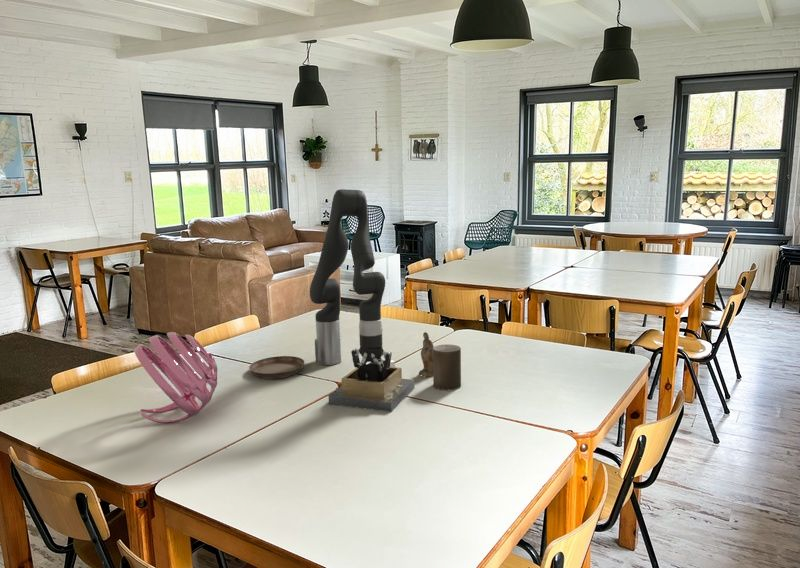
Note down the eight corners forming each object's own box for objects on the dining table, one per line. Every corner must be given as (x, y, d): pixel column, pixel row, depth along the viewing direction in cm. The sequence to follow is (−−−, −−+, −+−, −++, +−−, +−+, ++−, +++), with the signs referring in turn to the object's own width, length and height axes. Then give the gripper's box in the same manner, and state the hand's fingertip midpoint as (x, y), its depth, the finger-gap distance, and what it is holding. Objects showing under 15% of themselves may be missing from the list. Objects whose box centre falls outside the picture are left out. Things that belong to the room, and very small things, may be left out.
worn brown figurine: (427, 384, 230) (419, 339, 224) (417, 380, 234) (409, 336, 228) (449, 370, 237) (442, 326, 231) (439, 366, 241) (432, 323, 235)
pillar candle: (459, 391, 215) (459, 348, 212) (431, 389, 217) (430, 347, 214) (462, 381, 225) (462, 340, 222) (435, 380, 226) (435, 339, 224)
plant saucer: (239, 379, 233) (239, 371, 232) (264, 362, 253) (263, 354, 252) (292, 382, 228) (291, 374, 228) (312, 364, 248) (312, 356, 247)
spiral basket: (94, 376, 179) (172, 314, 186) (112, 369, 206) (180, 315, 213) (160, 449, 183) (235, 385, 189) (169, 433, 210) (235, 378, 216)
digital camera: (374, 377, 218) (373, 358, 216) (387, 380, 215) (387, 360, 214) (357, 387, 209) (356, 367, 208) (371, 389, 206) (370, 369, 205)
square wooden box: (328, 404, 206) (327, 380, 205) (356, 381, 227) (355, 360, 225) (391, 411, 199) (390, 387, 197) (414, 388, 219) (414, 366, 217)
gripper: (346, 333, 208) (348, 382, 211) (386, 336, 203) (388, 386, 206) (355, 327, 214) (357, 375, 218) (395, 330, 209) (396, 379, 213)
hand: (372, 380), depth 212 cm, fingers closed on digital camera, 5 cm apart
